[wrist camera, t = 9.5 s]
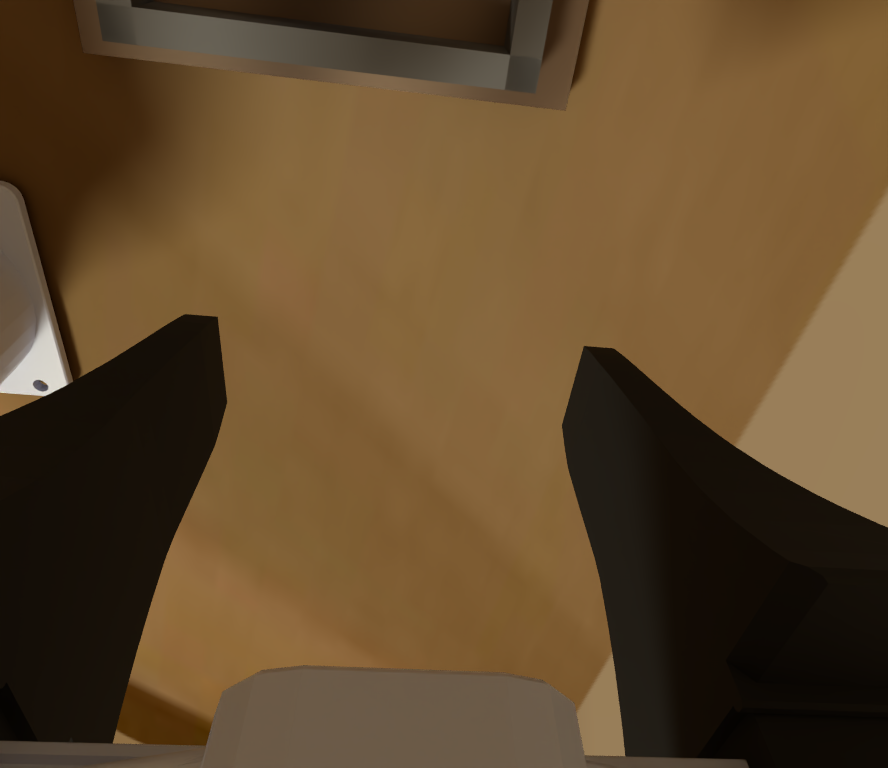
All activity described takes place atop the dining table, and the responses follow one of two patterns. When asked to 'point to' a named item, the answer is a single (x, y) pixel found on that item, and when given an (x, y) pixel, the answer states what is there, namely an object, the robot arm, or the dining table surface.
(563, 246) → the dining table surface
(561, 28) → the pocket plate
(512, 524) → the dining table surface
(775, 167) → the dining table surface
